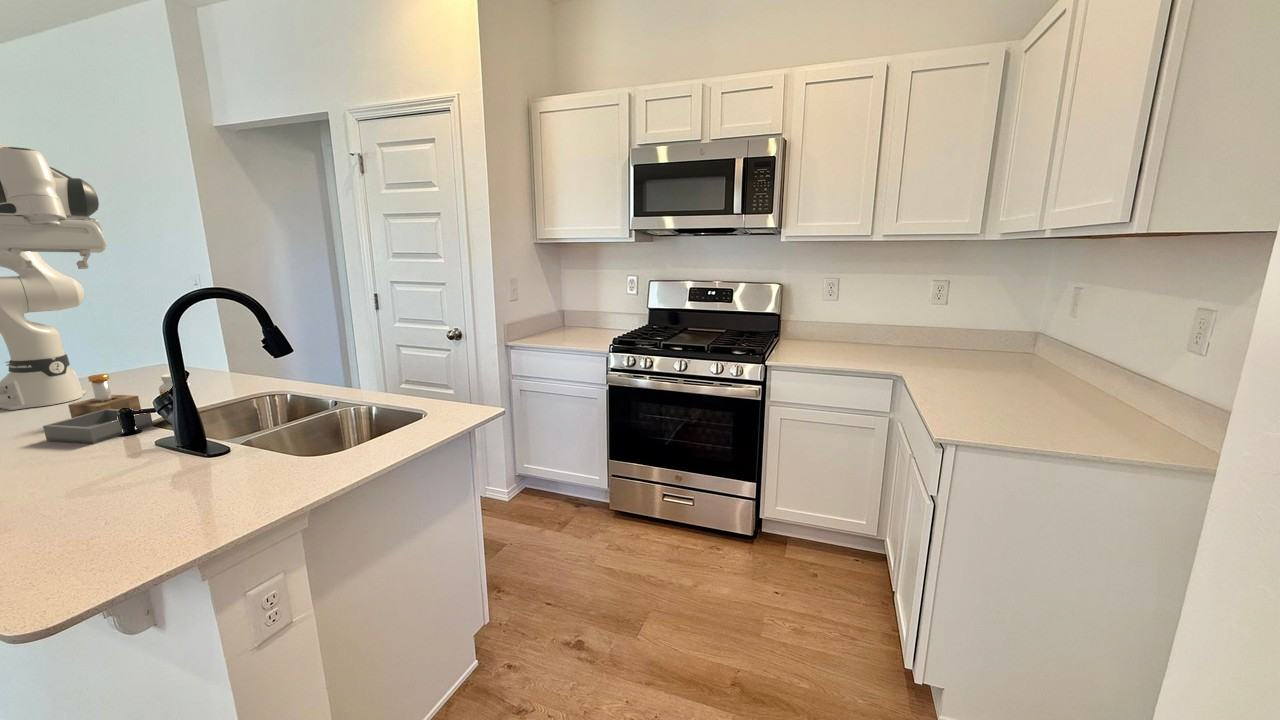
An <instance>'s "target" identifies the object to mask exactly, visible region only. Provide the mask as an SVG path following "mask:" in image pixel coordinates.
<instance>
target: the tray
mask: <svg viewBox="0 0 1280 720" xmlns="http://www.w3.org/2000/svg"><path fill="white" fill-rule="evenodd" d="M119 410H120V409H104V410H100V411H97V412H93V413H89V414H85V415H82V416H78V417H74V418H71V417H70V418H68V419H64V420H61V421H56V422H53V423H49V424H45V425H43V426H42V428H43V432H44V436H45V441H46V442H55V443H56V442H57V443H69V444H70V443H73V444H88V445H95V444H98V443H101V442H105V441H107V440H110V439H114V438H117V437H120V436H122V435H121V434H122V427H121V425H120V422H119V420H118V419H117V412H118V411H119ZM134 411H139V410H134ZM151 413H152V412H150V413H146V414H139V415H135V416H134V418H135V423H136V428H137V429H139V430H142V429H145V428H148V427H151V426H153V425H154V422H153V418H152V414H151Z"/></svg>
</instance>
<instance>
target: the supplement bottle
mask: <svg viewBox="0 0 1280 720" xmlns="http://www.w3.org/2000/svg"><path fill="white" fill-rule="evenodd" d="M170 374H171V373H166V374H163V375H162V374H161V377H160V378H161V381H162V382H163V384H161V385H160V386H159V388H158V391H159V395H160V397H161V395H162V394H164V393H165V392H167V391H169V390H170V389H171V388H172V380H171V376H170ZM188 386H189V389H190V391H191V393H192V394H193V392H192V391H193V390H192V386H191V383H189V382H188Z"/></svg>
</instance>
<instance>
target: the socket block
mask: <svg viewBox="0 0 1280 720" xmlns="http://www.w3.org/2000/svg"><path fill="white" fill-rule="evenodd" d="M111 397H112V400H111V401H107V402H103V403H96V399H95V397H94V398H93V397H92V398H90V399H86V400H81V401H78V402H73V403H70V404H68V405H67V406H68V409H69V413H70V419H71V418H74V417H78V416H82V415H85V414H89V413H93V412H97V411H100V410H104V409H122V408H131V409H133V410H141V411H142V408H141V402H140V398H139V395H126V394H111Z"/></svg>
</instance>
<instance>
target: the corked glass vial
mask: <svg viewBox="0 0 1280 720" xmlns="http://www.w3.org/2000/svg"><path fill="white" fill-rule="evenodd" d="M109 379H110V376H109V374H108V373H100V374H99V373H98V374H93V375H89V376H88V382H89V383H91V386H92V390H93V395H94V398H95V399H96V403H103V402H107V401H111V400H112V397H111V395H112V393H111V387H110V384H109V381H108V380H109Z"/></svg>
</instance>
